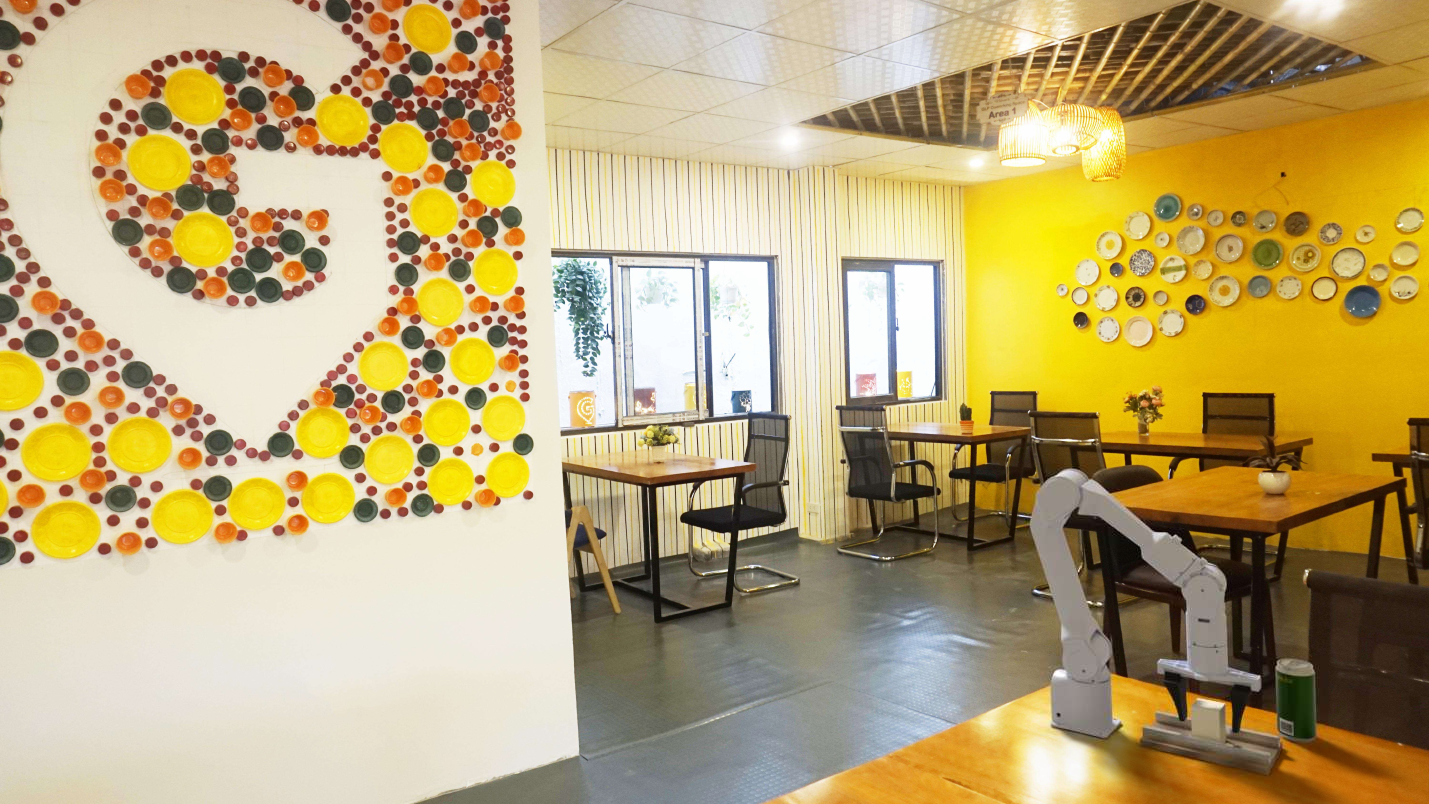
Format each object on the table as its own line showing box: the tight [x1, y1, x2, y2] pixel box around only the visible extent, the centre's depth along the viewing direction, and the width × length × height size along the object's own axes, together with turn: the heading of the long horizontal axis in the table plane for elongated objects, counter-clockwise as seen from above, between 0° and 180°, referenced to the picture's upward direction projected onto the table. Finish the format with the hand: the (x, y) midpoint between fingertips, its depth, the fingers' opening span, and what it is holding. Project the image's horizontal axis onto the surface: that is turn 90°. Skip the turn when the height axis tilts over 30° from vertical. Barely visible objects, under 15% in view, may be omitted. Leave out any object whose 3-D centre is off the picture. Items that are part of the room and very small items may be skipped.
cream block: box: [1190, 697, 1227, 743], centre depth 143 cm, size 4×4×6 cm
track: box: [1139, 710, 1283, 776], centre depth 143 cm, size 18×11×2 cm, turn 48°
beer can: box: [1275, 658, 1318, 744], centre depth 145 cm, size 5×5×12 cm
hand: (1209, 724), depth 143 cm, fingers open, 7 cm apart
